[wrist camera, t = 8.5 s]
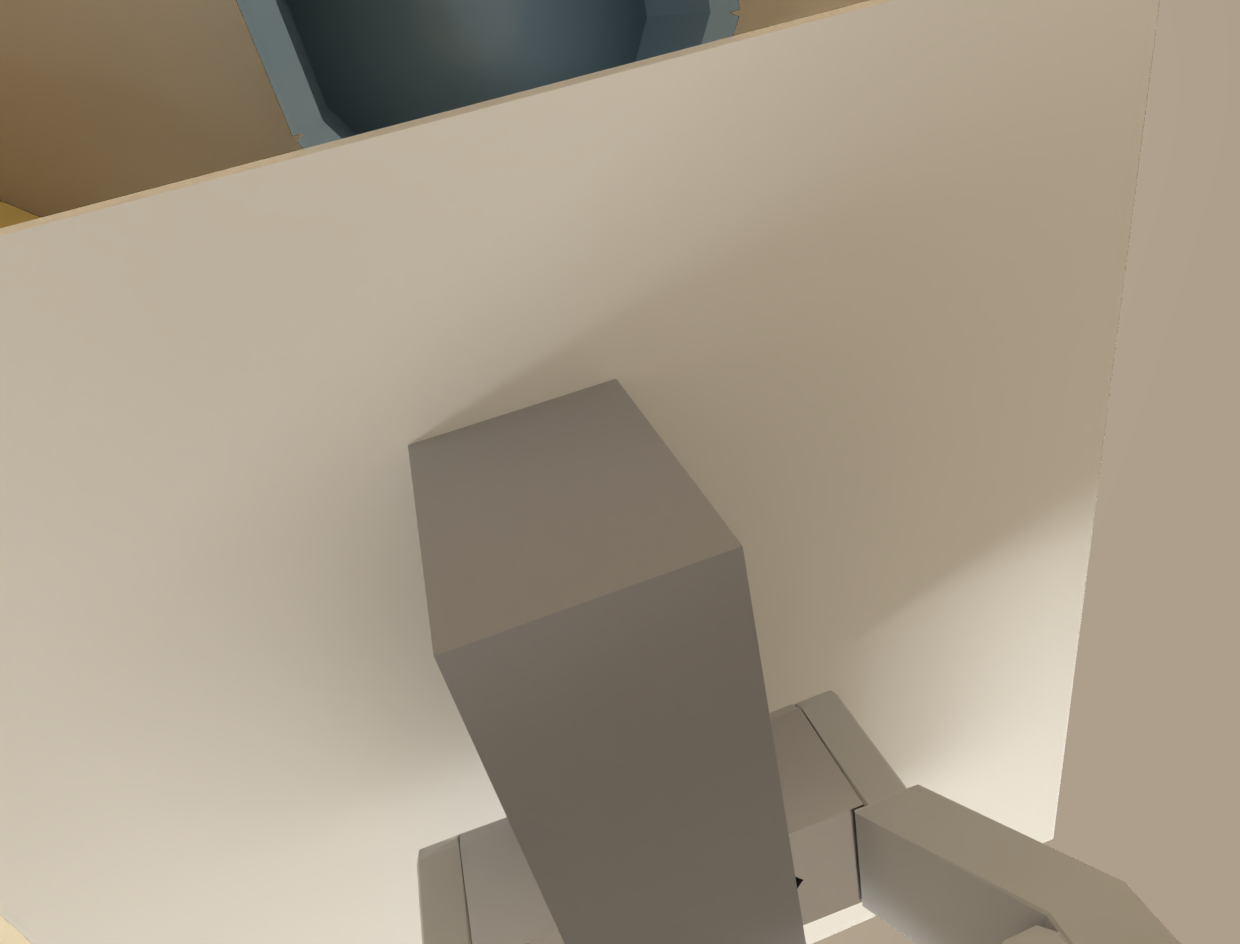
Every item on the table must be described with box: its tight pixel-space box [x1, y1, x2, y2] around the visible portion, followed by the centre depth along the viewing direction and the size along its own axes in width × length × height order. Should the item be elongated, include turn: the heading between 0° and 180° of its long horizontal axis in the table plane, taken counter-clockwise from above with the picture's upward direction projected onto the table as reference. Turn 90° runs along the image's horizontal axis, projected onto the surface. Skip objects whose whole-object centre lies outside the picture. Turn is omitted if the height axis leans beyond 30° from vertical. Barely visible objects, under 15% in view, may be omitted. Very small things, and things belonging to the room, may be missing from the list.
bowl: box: [236, 0, 740, 149], centre depth 22 cm, size 12×12×6 cm
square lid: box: [0, 0, 1160, 944], centre depth 10 cm, size 16×16×4 cm
